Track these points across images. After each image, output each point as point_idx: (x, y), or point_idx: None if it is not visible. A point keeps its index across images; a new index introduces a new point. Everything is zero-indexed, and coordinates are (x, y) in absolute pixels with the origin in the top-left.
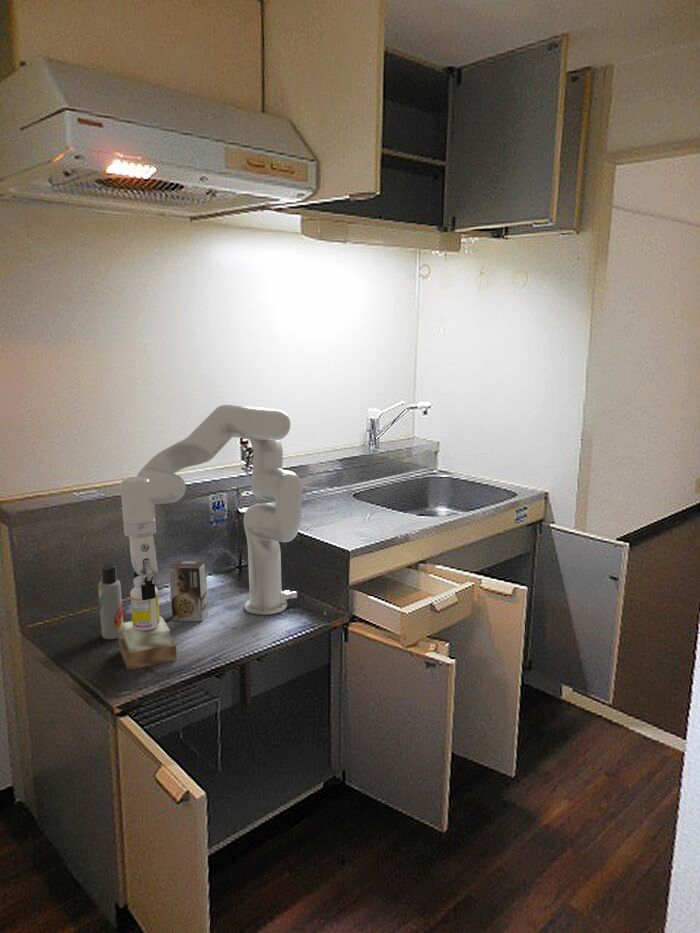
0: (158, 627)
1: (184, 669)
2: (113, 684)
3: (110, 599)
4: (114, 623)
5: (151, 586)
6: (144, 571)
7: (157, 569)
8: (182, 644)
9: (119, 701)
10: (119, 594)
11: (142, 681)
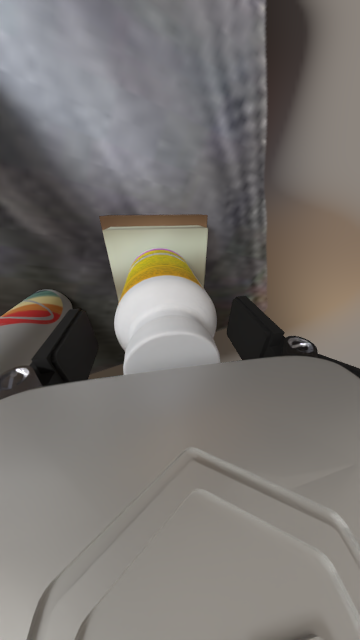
0: (178, 253)
1: (238, 208)
2: (222, 313)
3: (31, 356)
4: (59, 317)
5: (283, 339)
6: (52, 365)
7: (357, 377)
8: (128, 179)
9: (264, 309)
10: (3, 343)
11: (236, 280)
